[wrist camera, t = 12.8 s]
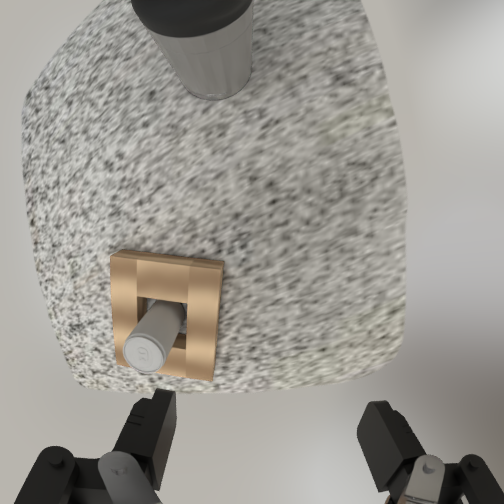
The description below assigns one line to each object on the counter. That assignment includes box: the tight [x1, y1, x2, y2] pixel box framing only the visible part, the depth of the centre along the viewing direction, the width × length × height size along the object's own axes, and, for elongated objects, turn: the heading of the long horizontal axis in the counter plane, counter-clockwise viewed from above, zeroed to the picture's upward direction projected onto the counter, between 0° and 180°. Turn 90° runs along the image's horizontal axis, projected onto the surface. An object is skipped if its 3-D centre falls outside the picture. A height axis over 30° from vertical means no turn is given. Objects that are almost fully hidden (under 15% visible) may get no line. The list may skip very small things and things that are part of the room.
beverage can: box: [123, 299, 185, 374], centre depth 34 cm, size 5×5×12 cm
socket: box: [110, 249, 224, 381], centre depth 37 cm, size 16×14×4 cm
